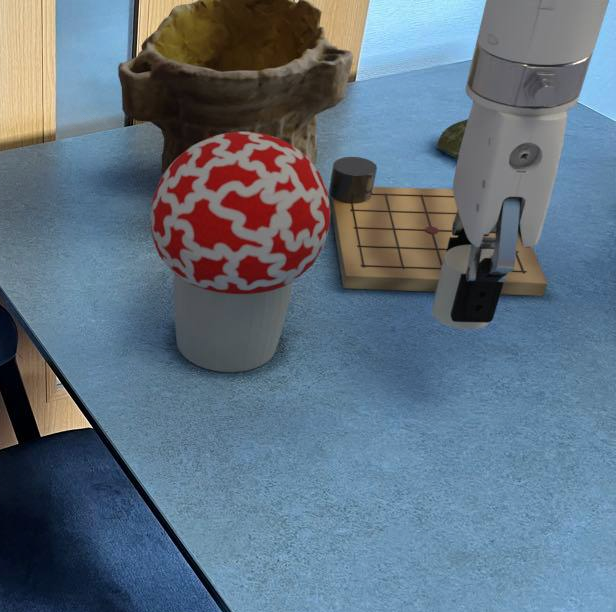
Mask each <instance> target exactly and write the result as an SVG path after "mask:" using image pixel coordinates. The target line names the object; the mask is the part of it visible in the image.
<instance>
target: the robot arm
mask: <svg viewBox="0 0 616 612" xmlns="http://www.w3.org/2000/svg"><path fill="white" fill-rule="evenodd" d="M609 2H610V0H485V3H484V7H483V8H484V9H483V12H482V16H481V21H480V25H479V28H478V29H479V30H478V34H477V38H476V41H475V46H474V51H473V53H472V54H473V55H472V59H471V63H470V68H469V72H468V76H467V81H466V85H465V92H466V95H467V97H468V98H470V100H471V101H472V104H471V107H470V108H471V109H470V112H469V115H468V118H467V119H468V122H467V125H466V129H465V132H464V136H463V140H462V144H461V148H460V152H459V156H458V160H457V159H456V160H457V161H456V165H455V170H454V171H455V172H454V175H453V182H452V183H453V184H452V189H453V194H454V199H455V202H456V206H457V209H458V210H457V213H456V216H455V219H454V222H453V226H452V235H453V236H458V237H450V239H449V243H448V247H447V251H448V250H449V249H451V248H453V247H456V246H460V245H471V249H470V255H469V260H468V266H467V271H466V274H461V276H460V280H459V284H458V288H457V291H456V295H455V299H454V303H453V307H452V311H451V319H452V321H454V322H482V323H488V322H492V321H493V320H494V317H495V313H496V311H497V307H498V302H499V300H500V297H501V295H502V294H501V290H502V287H503V284H504V282H505V280H506V277H507V273H509V272H511V271H513V269H514V267H515V258H516V247H517V236H519V238H520V241H521V243H522V246H523V247H526V248H533V249H534V248H535V246H536V245H537V244H538V243H539V241H540V238H541V235H542V231H543V227H544V224H545V219H546V216H547V212H548V209H549V205H550V202H551V197H552V193H553V190H554V185H555V181H556V178H557V174H558V169H559V165H560V160H561V157H562V150H563V146H564V140H565V135H566V129H567V122H568V120H567V119H568V111H569V110H571V109H572V108H574V107H575V106H576V105H577V104H578V102H579V99H580V95H581V92H582V89H583V86H584V83H585V79H586V77H587V73H588V70H589V67H590V64H591V60H592V57H593V53H594V51H595V48H596V44H597V41H598V39H599V35H600V32H601V28H602V25H603V23H604V20H605V16H606V14H607V13H606V12H607V9H608V6H609ZM490 232H496V236H495V238H491V237H483V236H488V235H489V233H490ZM482 249H494V253H493V255H492V256H491V258H484V259H483V260H482V261H481V262H480V263H479V261H480V256H481V251H482ZM447 251H446V252H447Z"/></svg>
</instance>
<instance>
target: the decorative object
mask: <svg viewBox="0 0 616 612" xmlns="http://www.w3.org/2000/svg"><path fill="white" fill-rule="evenodd" d="M149 213H150V214H149V215H150V218H149V219H150V233H151V237H152V241H153V243H154V246H155V249H156V251H157V253H158V257H159V258H160V259H161V260H162V261H163V262H164V264H165V265H166V266H167V267H168V268H169V269H170V271H171V272H172V273H173V274H174V275H173V312H174V313H173V314H174V315H173V316H174V317H173V319H174V328H175V336H176V345H177V348H178V351H179V352H180V353H181V355H182V356H183V357H184V358H185V359H186V360H187V361H189V362H190V363H192V364H194V365H195V366H197V367H200V368H202V369H205V370H210V371H214V372H219V373H220V372H221V373H241V372H247V371H252V370H254V369H257V368H259V367H262V366H263V365H265V364H266V363H268V362H269V361H270V360H271V359H272V358H273V357H274V355H275V353H276V351H277V348H278V345H279V342H280V338H281V335H282V332H283V328H284V325H285V321H286V316H287V312H288V309H289V305H290V299H291V295H292V290H293V282H294V281H296V280H297V279H298V278H299V277H301V276H302V275H303V274H304V273H306V272H307V271H308V270H309V269H310V268H311V267H313V265H314V264H315V262H316V260H317V259H318V256H319V255H320V254H321V252H322V250H323V248H324V246H325V245H326V242H327V237H328V234H329V231H330V224H331V206H330V200H329V192H328V189H327V186H326V184H325V181H324V180H323V178H322V176H321V174H320V172H319V170H318V169H317V167H316V166H315V165H313V164H312V163H311V161H310V160H309V159H308V158H307V157H306V156H305V155H304V154H303V153H302V152H300V151H299V150H298V149H296V148H295V147H293V146H292V145H290V144H289V143H287V142H285V141H283V140H281V139H279V138H276V137H273V136H269V135H265V134H261V133H256V132H232V133H225V134H220V135H216V136H212V137H210V138H207V139H205V140H203V141H201V142H199V143H197V144H195V145H193V146H192V147H190V148H189V149H187V150H186V151H185V152H183V153H182V154H181V155H180V156H179V157H178V158H176V159H175V160H174V162H173V163H172V164H171V165H170V166H169V168H168V169H167V170H166V172H165V173H164V174H162V176H161V177H160V180H159V182H158V185H157V187H156V189H155V192H154V193H153V196H152V201H151V207H150V212H149Z"/></svg>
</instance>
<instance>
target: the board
mask: <svg viewBox="0 0 616 612" xmlns="http://www.w3.org/2000/svg"><path fill="white" fill-rule="evenodd" d="M328 198H329V203H330V214H331V218H332V225H333V230H334V231H333V233H334V239H335V244H336V250H337V257H338V263H339V264H338V265H339V270H340V275H341V282H342V289H350V290H353V289H354V290H379V291H401V292H402V291H403V292H428V293H429V292H430V293H431V292H433V293H435V292H436V288H437V284H438V280H439V276H440V272H441V268H442V264H443V259H444V256H445V254H446V251H447V247H448V243H449V239H450V237H458V236H453V235H452V226H453V222H454V219H455V216H456V213H457V210H458V209H457V206H456V202H455V199H454V194H453V188H427V187H425V188H424V187H394V186H393V187H391V186H390V187H389V186H373V191H372V196H371V197H370V198H369V199H368V200H366V201H363V202H358V203H349V202H343V201H339V200H337V199H335V198H333V197H332V196H331V195H330V194H328ZM495 236H496V232H490V233H489V235H488V236H483V237H491V238H495ZM547 286H548V281H547V279H546V276H545V274H544V271H543V269H542V267H541V264H540V261H539V259H538V257H537V254H536V253H535V250H534V247H533V248H526V247H523V246H522V243H521V241H520V238H519V236H517V247H516V258H515V267H514V269H513V271H511V272H509V273H507V277H506V280H505V282H504V284H503V287H502V290H501V294H500V295H506V296H507V295H508V296H509V295H511V296H536V297H543V296H544V295H545V291H546V289H547Z"/></svg>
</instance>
